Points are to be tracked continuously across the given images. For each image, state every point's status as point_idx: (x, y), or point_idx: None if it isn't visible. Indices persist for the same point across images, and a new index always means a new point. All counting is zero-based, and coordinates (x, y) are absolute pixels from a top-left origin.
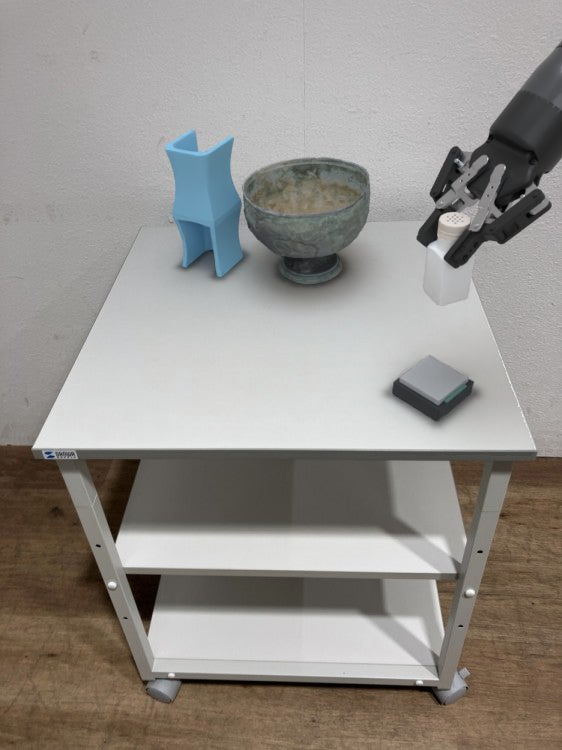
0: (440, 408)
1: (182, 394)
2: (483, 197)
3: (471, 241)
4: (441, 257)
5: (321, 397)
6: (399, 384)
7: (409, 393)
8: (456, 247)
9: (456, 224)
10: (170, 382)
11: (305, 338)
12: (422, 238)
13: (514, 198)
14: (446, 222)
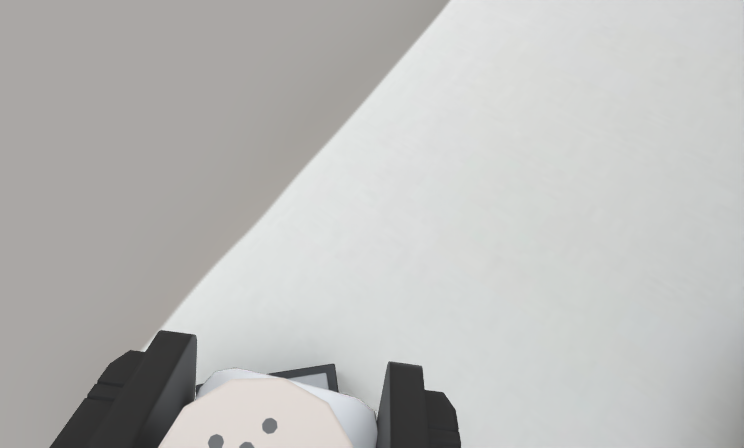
0: (197, 391)
1: (564, 55)
2: None
3: (69, 435)
4: (241, 373)
5: (414, 240)
6: (318, 369)
7: (284, 371)
8: (139, 370)
9: (199, 436)
10: (605, 53)
11: (605, 328)
12: (388, 374)
13: None
14: (261, 403)
